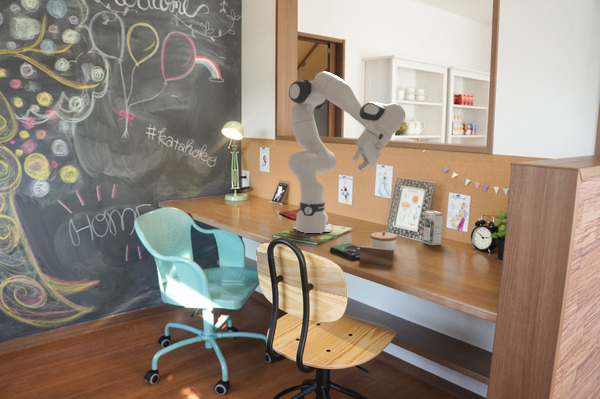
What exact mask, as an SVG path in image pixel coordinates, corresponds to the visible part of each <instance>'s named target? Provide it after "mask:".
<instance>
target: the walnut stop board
mask: <svg viewBox="0 0 600 399" xmlns="http://www.w3.org/2000/svg"><path fill="white" fill-rule="evenodd" d="M359 247H360V259H359V263H364V264H374V265H381V266H391V267H393V265H394V256H395V255H394V254H395V249H392V248H382V247H372V246H371V245H360V246H359Z"/></svg>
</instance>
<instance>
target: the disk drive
mask: <svg viewBox="0 0 600 399" xmlns="http://www.w3.org/2000/svg"><path fill="white" fill-rule="evenodd" d="M360 247H361V246H358V245H354V244H353V243H349V242H348V243H342V244H338V245H334V246H330V247H329V252H330V253H333V254H335V255H338V256H340V257H343V258H346V259H348V260H349V261H358V260H360Z"/></svg>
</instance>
